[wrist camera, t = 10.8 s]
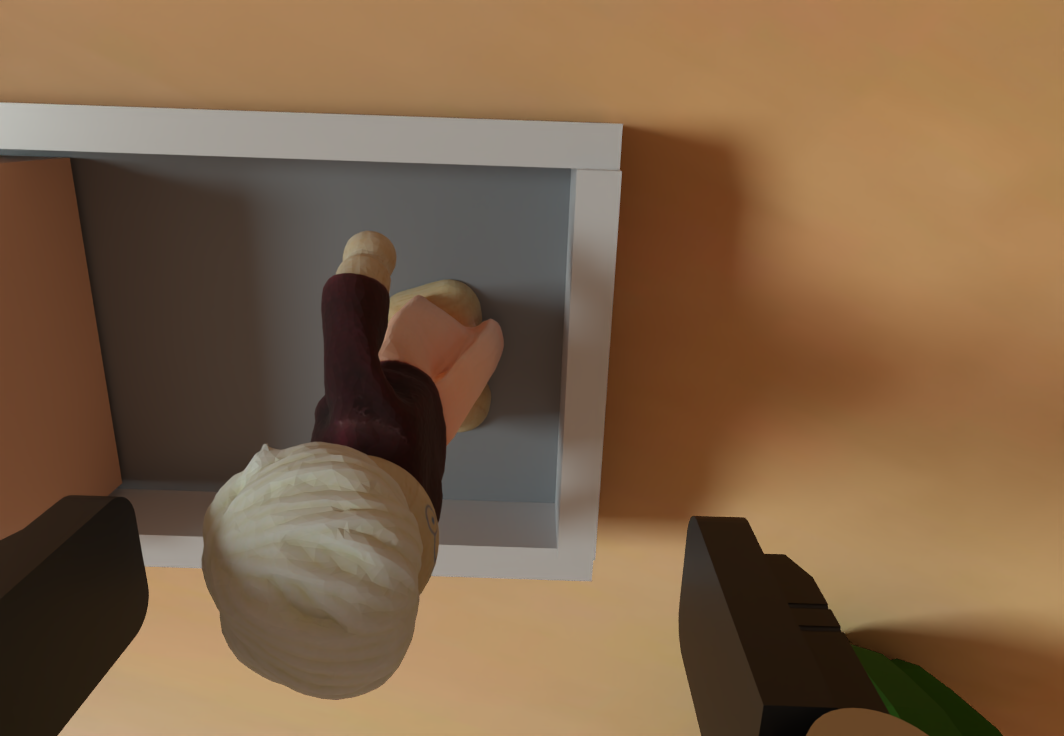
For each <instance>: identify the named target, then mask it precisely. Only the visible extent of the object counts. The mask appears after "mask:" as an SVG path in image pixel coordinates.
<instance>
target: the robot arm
mask: <svg viewBox="0 0 1064 736" xmlns="http://www.w3.org/2000/svg"><path fill="white" fill-rule="evenodd" d="M148 599H149V591H148V583H147V578H146V572H145V566H144V560H143V555H142V549H141V543H140V538H139V532H138V526H137V520H136V515H135V511H134V508H133V505H132V504H131V502H130V501H129V500H128V499H127V498H125V497H117V496H86V495H68V496H66V497H63V498H62V499H60V500H59V501H58V502H56V503H55V504H54V505H53V506H51V507H50V508H49V509H48V510H46V511H45V512H44V513H43V514H41V515H40V516H39V517H38V518H36V519H35V520H34V521H33V522H31V523H30V524H29V525H27V526H26V527H25V528H24V529H22V530H20V531H18V532H16V533H14V534H12V535H10V536H8V537H6V538H4V539H2V540H0V736H57V735H58V734H59V733H60V732H61V730H62V729H63V728H64V727H65V725H66V724H67V723H68V721H69V720H70V719H71V718H72V716H73V715H74V714H75V713H76V711H77V710H78V709H79V707H80V706H81V705H82V704H83V702H84V701H85V700H86V699H87V697H88V696H89V695H90V694H91V692H92V691H93V690H94V688H95V687H96V686H97V685H98V683H99V682H100V681H101V680H102V678H103V677H104V676H105V674H106V673H107V672H108V671H109V669H110V668H111V667H112V666H113V664H114V663H115V662H116V660H117V659H118V658H119V657H120V655H121V654H122V653H123V652H124V650H125V649H126V648H127V646H128V645H129V644H130V643H131V641H132V640H133V639H134V638H135V636H136V635H137V633H138V632H139V630H140V628H141V626H142V624H143V622H144V619H145V616H146V612H147V607H148ZM679 639H680V648H681V654H682V658H683V662H684V666H685V671H686V675H687V679H688V683H689V687H690V691H691V695H692V699H693V703H694V707H695V711H696V716H697V720H698V724H699V728H700V732H701V736H929V735H927V734H926V733H924V732H923V731H921V730H920V729H918V728H917V727H915V726H913V725H911V724H909V723H907V722H905V721H904V720H901V719H899V718H897V717H894V716H892V715H890V713H889V711H888V710H887V708H886V706H885V704H884V703H883V701H882V699H881V697H880V696H879V694H878V692H877V690H876V688H875V687H874V685H873V683H872V681H871V680H870V678H869V676H868V674H867V673H866V671H865V669H864V667H863V665H862V664H861V662H860V660H859V658H858V657H857V655H856V653H855V651H854V650H853V648H852V646H851V644H850V643H849V641H848V639H847V637H846V635H845V634H844V632H841V630H840V625H839V623H838V621H837V620H836V618H835V616H834V614H833V612H832V611H831V609H828V604H827V602H826V600H825V598H824V597H823V595H822V593H821V591H820V589H819V588H818V586H817V584H816V582H815V581H814V579H813V577H811V576H810V575H809V574H808V573H807V572H805V571H804V570H803V569H802V568H801V567H799V566H798V565H797V564H796V563H795V562H793V561H792V560H791V559H790V558H788V557H787V556H786V555H783V554H764V553H763V551H762V549H761V547H760V545H759V543H758V541H757V539H756V537H755V535H754V533H753V531H752V529H751V527H750V525H749V523H748V521H747V520H746V519H745V518H740V517H709V516H692V517H691V518H690V521H689V524H688V530H687V539H686V548H685V557H684V567H683V576H682V586H681V595H680V605H679Z"/></svg>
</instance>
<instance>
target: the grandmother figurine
mask: <svg viewBox="0 0 1064 736" xmlns="http://www.w3.org/2000/svg"><path fill="white" fill-rule="evenodd" d="M396 258H397V256H396V250H395V248H394V246H393V244H392V243H391V241H390V240H389V239H388V238H387V237H385V236H384V235H383V234H380V233H378V232H375V231H362V232H360V233H358V234H355V235H354V236H352V237H351V238H350V239H349V240H348V242H347V244H346V246H345V249H344V253H343V262H342V263H341V264H340V266H339V267H338V269H337V272H336V275H333V276H332V277H330V278H329V279H328V280H327V282H326V283H325V285H324V287H323V292H322V300H321V315H322V329H323V338H324V387H325V395H324V396H323V397H322V398H321V400H320V401H319V402H318V404H317V406H316V408H315V413H314V415H315V424H314V429H313V432H312V437H311V442H310V443H305V444H300V445H297V446H293V447H290V448H287V449H283V450H279V449H274V448H271V447H268V444H263V446H262V448H261V451H259V452H258V453H256V454H255V455H254V457H253V458H252V460H251V461H250V463H249V464H248V466H247V467H246V468H245V470H244V471H242V472H240V473H238V474H235V475H234V476H233V477H231V478H230V479H229V480H228V481H227V482H226V483H225V484H224V485H223V486H222V487H221V488H220V490H219V491H218V492H217V494H216V496H215V498H214V500H213V502H212V503H211V504H210V505H209V507H208V509H207V511H206V514H205V517H204V522H203V542H204V548H203V554H202V558H201V561H202V570H203V574H204V579H205V582H206V585H207V588H208V590H209V592H210V594H211V596H212V598H213V600H214V602H215V604H216V606H217V608H218V610H219V611H220V621H221V628H222V633H223V635H224V637H225V639H226V642H227V644H228V646H229V647H230V649H231V650H232V652H233V653H234V654H235V656H236V657H237V659H238V660H239V661H240V662H242V663H243V664H244V665H245V666H247V667H248V668H250V669H251V670H253V671H254V672H256V673H258V674H259V675H261V676H263V677H264V678H267V679H269V680H271V681H273V682H276V683H279V684H282V685H285V686H287V687H289V688H291V689H293V690H295V691H297V692H300V693H302V694H305V695H309V696H313V697H317V698H322V699H332V700H339V699H345V698H352V697H356V696H359V695H362V694H365V693H368V692H370V691H372V690H374V689H377V688H378V687H380V686H381V685H383V684H384V683H385V682H386V681H387V680H388V679H389V678H390V677H391V676H392V675H393V673H394V672H395V671H396V670H397V668H398V667H399V666H400V664H401V662H402V660H403V658H404V656H405V654H406V652H407V649H408V647H409V645H410V643H411V640H412V637H413V633H414V627H415V620H416V616H417V611H418V605H419V595H420V594H421V593H422V591H423V589H424V588H425V586H426V584H427V583H428V581H429V579H430V577H431V575H432V572H433V570H434V567H435V564H436V560H437V555H438V548H439V527H438V522H439V519H440V514H441V509H442V500H443V493H442V478H443V475H444V471H445V461H446V447H447V445H448V444H449V443H450V441H451V440H452V439H453V438H454V437H455V435H456V433H457V432H466V431H470V430H472V429H474V428H476V427H477V426H479V425H480V424H481V423H482V422H483V421H484V419H485V418H486V417H487V415H488V412H489V409H490V404H491V391H490V388H489V385H488V384H487V382H488V381H489V379H490V377H491V376H492V374H493V373H494V371H495V369H496V367H497V364H498V362H499V360H500V357H501V355H502V352H503V348H504V338H503V333H502V330H501V327H500V325H499V324H498V322H496V321H495V320H493V319H488V320H486V321H483V322H482V312H481V306H480V302H479V299H478V298H477V296H476V294H475V293H474V292H473V290H472V289H471V288H470V287H468V286H467V285H466V284H464V283H462V282H460V281H456V280H452V279H446V280H440V281H436V282H432V283H428V284H425V285H422V286H418V287H415V288H411V289H408V290H404V291H401V292H398V293H396V294H395V295H393V296H392V297H389V291H390V284H391V278H390V276H391V274H392V272H393V270H394V268H395V266H396Z"/></svg>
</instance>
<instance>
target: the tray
mask: <svg viewBox="0 0 1064 736" xmlns="http://www.w3.org/2000/svg"><path fill="white" fill-rule="evenodd" d="M622 129H623V124H616V123H592V122H563V121H534V120H505V119H476V118H446V117H417V116H388V115H359V114H330V113H301V112H272V111H243V110H214V109H185V108H156V107H127V106H98V105H69V104H40V103H11V102H0V155H9V156H38V157H67V158H70V163H71V169H72V175H73V181H74V187H75V194H76V200H77V206H78V212H79V218H80V224H81V231H82V237H83V243H84V249H85V255H86V262H87V268H88V274H89V280H90V286H91V293H92V299H93V305H94V311H95V317H96V324H97V330H98V336H99V342H100V348H101V355H102V361H103V367H104V373H105V379H106V385H107V392H108V398H109V404H110V410H111V416H112V423H113V429H114V435H115V441H116V447H117V454H118V460H119V466H120V472H121V478H122V484H121V485H120V486H118V487H117V488H116V489H115V490H114V491H113V492H112V493H110V494H109V495H108V496H117V497H125V498H127V499H128V500H129V501H130V502H131V504H132V505H133V508H134V511H135V515H136V520H137V526H138V532H139V538H140V543H141V549H142V555H143V560H144V566H148V567H178V568H202V561H201V558H202V554H203V548H204V542H203V522H204V517H205V514H206V511H207V509H208V507H209V505H210V504H211V503H212V502H213V500H214V498H215V496H216V494H217V492H218V491H219V490H220V488H221V487H222V486H223V485H224V484H225V483H226V482H227V481H228V480H229V479H230V478H231V477H233V476H234V475H235V474H238V473H240V472H242V471H244V470H245V468H246V467H247V466H248V464H249V463H250V461H251V460H252V458H253V457H254V455H255V454H256V453H258V452H259V451H261V448H262V446H263V444H268V447H271V448H274V449H279V450H283V449H287V448H290V447H293V446H297V445H300V444H305V443H310V442H311V437H312V432H313V429H314V424H315V415H314V413H315V408H316V406H317V404H318V402H319V401H320V400H321V398H322V397H323V396H324V395H325V387H324V338H323V329H322V315H321V300H322V292H323V287H324V285H325V283H326V282H327V280H328V279H329V278H330V277H332V276H333V275H336V272H337V269H338V267H339V266H340V264H341V263H342V262H343V253H344V249H345V246H346V244H347V242H348V240H349V239H350V238H351V237H352V236H354V235H355V234H358V233H360V232H362V231H375V232H378V233H380V234H383V235H384V236H385V237H387V238H388V239H389V240H390V241H391V243H392V244H393V246H394V248H395V250H396V256H397V258H396V266H395V268H394V270H393V272H392V274H391V276H390V278H391V284H390V291H389V297H392V296H393V295H395V294H396V293H398V292H401V291H404V290H408V289H411V288H415V287H418V286H422V285H425V284H428V283H432V282H436V281H440V280H446V279H452V280H456V281H460V282H462V283H464V284H466V285H467V286H468V287H470V288H471V289H472V290H473V292H474V293H475V294H476V296H477V298H478V299H479V302H480V306H481V312H482V322H483V321H486V320H488V319H493V320H495V321H496V322H498V324H499V325H500V327H501V330H502V333H503V338H504V348H503V352H502V355H501V357H500V360H499V362H498V364H497V367H496V369H495V371H494V373H493V374H492V376H491V377H490V379H489V381H488V382H487V384H488V385H489V388H490V391H491V404H490V409H489V412H488V415H487V417H486V418H485V419H484V421H483V422H482V423H481V424H480V425H479V426H477V427H476V428H474V429H472V430H470V431H466V432H457V433H456V435H455V437H454V438H453V439H452V440H451V441H450V443H449V444H448V445H447V447H446V461H445V471H444V475H443V478H442V493H443V500H442V509H441V514H440V519H439V522H438V527H439V548H438V555H437V560H436V564H435V567H434V570H433V572H432V575H431V576H448V577H478V578H508V579H537V580H567V581H592V568H593V560H595V554H596V540H597V525H598V511H599V496H600V482H601V468H602V453H603V439H604V424H605V410H606V396H607V381H608V367H609V352H610V338H611V323H612V309H613V295H614V280H615V266H616V251H617V237H618V223H619V208H620V194H621V179H622V171H621V170H620V159H621V144H622Z"/></svg>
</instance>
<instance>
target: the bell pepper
mask: <svg viewBox="0 0 1064 736" xmlns="http://www.w3.org/2000/svg"><path fill="white" fill-rule="evenodd" d="M851 646H852V648H853V650H854V651H855V653H856V655H857V657H858V658H859V660H860V662H861V664H862V665H863V667H864V669H865V671H866V673H867V674H868V676H869V678H870V680H871V681H872V683H873V685H874V687H875V688H876V690H877V692H878V694H879V696H880V697H881V699H882V701H883V703H884V704H885V706H886V708H887V710H888V711H889V713H890V715H892V716H894V717H897V718H899V719H901V720H904V721H905V722H907V723H909V724H911V725H913V726H915V727H917V728H918V729H920V730H921V731H923V732H924V733H926V734H927V735H929V736H1003V735H1002V734H1001V733H1000V731H999V730H998V729H997V728H996V727H995V726H993V725H992V724H991V723H990V722H989V721H987V720H986V719H985V718H984V717H983V716H982V715H980V714H979V713H978V712H977V711H976V710H975V709H973V708H972V707H971V706H970V705H969V704H967V703H966V702H965V701H964V700H963V699H962V698H960V697H959V696H958V695H957V694H956V693H955V692H953V691H952V690H951V689H950V688H948V687H947V686H946V685H944V684H943V683H941V682H940V681H939V680H937V679H936V678H935V677H933V676H932V675H931V674H929V673H928V672H927V671H925V670H924V669H923V668H921V667H920V666H918V665H915V664H912V663H908V662H905V661H902V660H899V659H893V660H889V659H888V658H887V657H886V656H884V655H883V654H880V653H877V652H874V651H871V650H868V649H864V648H861V647H858V646H855V645H851Z"/></svg>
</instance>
